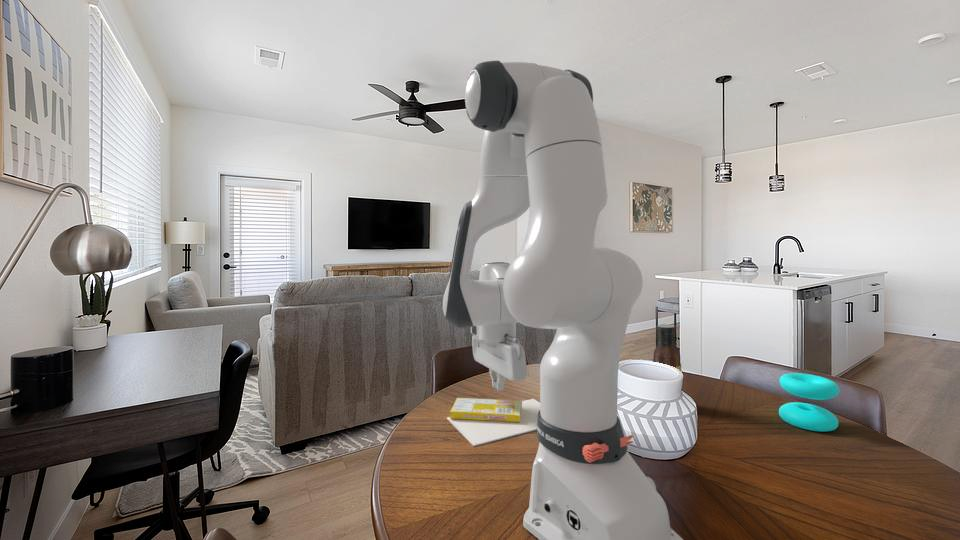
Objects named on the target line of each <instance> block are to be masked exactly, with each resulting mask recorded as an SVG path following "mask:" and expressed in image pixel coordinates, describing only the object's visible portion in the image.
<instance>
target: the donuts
mask: <svg viewBox="0 0 960 540" xmlns="http://www.w3.org/2000/svg"><path fill="white" fill-rule="evenodd" d="M778 382H779V385H780V387H781V388H782V389H783V390H785V392H788V393H790V394H791V395H794V396H797V397H799V398H805V399H810V400H818V401H819V400H820V401H824V400H825V401H826V400H831V399H834V398H835V397H837V396H838V395H839V394H840V387H839V385H838V384H837V383H836V382H835V381H833V380H831V379H829V378H826V377H823V376H819V375H814V374H809V373H799V372H792V373H791V372H790V373H789V372H788V373H785V374H783V375H781V376H780V377H779V381H778ZM778 415H779V417H780V418H781V419H782V420H783V421H784V422H786V423H787V424H790V425H791V426H794V427H796V428H799V429H803V430H807V431H813V432H819V433H820V432H826V433H827V432H832V431H835V430H836V429H837V428H838V427H839V420H838V417H837V416H836V415H835V414H834V413H833V412H831V411H830V410H828V409H826V408H824V407H822V406H819V405H817V404H812V403H805V402H798V401H797V402H796V401H794V402H787V403H784V404H783V405H781V406H780V407H779V409H778Z"/></svg>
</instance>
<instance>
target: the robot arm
mask: <svg viewBox="0 0 960 540" xmlns="http://www.w3.org/2000/svg"><path fill="white" fill-rule="evenodd" d="M467 78H468V79H467V82H466V87H465V90H464V91H465V92H464V102H465V110H466V111H465V112H466V115H467V117H468V119H469V121H470V122H471V124H473V127H476V128H478V129H482V130H484V131H483V135H482V141H481V148H480V156H479V169H478V170H479V171H478V175H479V177H478V184H477V189H476V191H475V193H474V196H473V198H471V200H470V201H468V202H466V203H465V204H463V208H462V210H461V212H460V216H459V220H458V225H457V230H456V235H455V240H454V245H453V252H452V257H451V263H450V269H449V276H448V279H447V284H446V288H445V291H444V293H443V298H442V312H443V315H444V319H445V320H446V321H447V322H449V324H450V325H452V326H454V328H457V329H464V328H465V329H466V328H470V333H471V335H472V337H471V339H472V341H471V344H472V345H471V346H472V355H473V359H474V361H475V362H477V363H479V364H481V365H482V366H485V368H488V372H489V376H490V379H491V386H492V388H494V389H495V390H497V391H498V392H500V391H504V390H505V383H506V380H508V381H509V380H510V381H511V382H518V381H523V380H525V379H526V378H527V375H528V373H527V372H528V371H527V358H526V352H525V351H526V350H525V349H524V347H523V344H522V343H521V342H520V339H519V338H518V337H517V324H521V325H523V326H525V327H528V328H533V329H545V330H556V332H555V335H554V337H553V340H552V342H551V344H550V346H549V347H548V349H547V350H546V352H544V354H543V356H542V359H541V362H540V364H539V365H540V366H539V402H540V410H539V412H538V418H537V430H536V433H537V434H536V435H537V439H538V442H539V444H538V448H537V450H536V451H537V452H536V455H535V458H534V461H533V465H532V469H531V470H532V471H531V480H530V491H529V502H528V503H529V505H528V508H527V510H526V511H525V513H524V515H523V521H522V524H523V525H522V526H523V528H525V530H526V531H528V532H529V533H530V534H532V535H533V536H534V537H535V538H537V540H684V539H683V538H682V536H680V535H679V534H678V533H677V532H676V531H675V530H674V529H673V528H672V527H671V522H670V515H669V511H668V508H667V504H666V502H665V499H663V497H662V495H661V494H660V493H659V492H658V491H657V487H656V483H655V482H654V480H653V478H652V477H649V476H646V475H645V473H644V472H643V470H642V469H641V467H640V466H639V465H638V464H637V462H636V461H635V460H634V458H633V457H632V455H631V454H630V453H629V451H628V445H631V444H633V443H634V441H631V439H633V438H634V436H633V434H631V435H628V436H625V433H624V428H623V427H622V423H621V420H620V418H619V416H618V386H619V385H618V380H619V367H620V366H619V365H620V360H621V359H620V358H621V353H622V349H623V344H624V340H625V337H626V336H625V335H626V333H627V327H628V324H629V319H630V315H631V313H632V309H633V307H634V305H635V303H636V301H637V300H638V298H639V297H640V295H641V293H642V289H643V284H644V283H643V275H642V272H641V269H640V267H639V265H638V264H637V263H636V261H635V260H634V259H633V258H631V257H630V256H629V255H627V254H625V253H622V252H620V251H618V250H615V249H612V248H609V247H595V235H596V229H597V223H598V219H599V216H600V214H601V212H602V211H603V209H605V206H606V204H607V203H608V189H607V180H606V170H605V164H604V163H605V161H604V154H603V153H604V152H603V145H602V137H601V132H600V126H599V121H598V118H597V117H598V116H597V113H596V110H595V105H594V94H593V93H594V92H593V87H592V83H591V82H590V80H589V79H588V78H587V77H586V76H584V74H581V73H579V72H577V71H574V70H571V69H564V70H563V69H561V68H556V67H552V66H547V65H541V64H540V65H539V64H537V63H533V62H525V61H524V62H521V61H507V62H501V61H500V60H489V61H483V62H479V63H477V64H476V65H475V67H474V68H473V69H472V70H471V71H470V72H469V75H468V77H467ZM528 209H529V215H528V222H527V230H526V232H525V233H526V234H525V236H524V237H525V238H524V240H523V244H522V246H521V249H520V251H519V253H518V254H517V256H516V257H515V258H514V259H513V261H511V263H509V262H504V261H502V262H501V261H500V262H499V261H497V262H490V263H489V262H488V263H484V264H483V265H482V266H480V269H479V275H478V276H479V277H478V279H476V280H475V279H471V278H470V274H471V270H472V264H473V259H474V254H475V253H474V252H475V247H476V244H477V242H478V240H479V239H480V238H481V237H482V236H483V235H485V234H486V233H488V232H490V231H491V230H493V229H496V228H498V227H502V226H503V225H507V224H508V223H509V224H510V223H511V222H512V221H514V220H517V219H519V218H520V217H521V216H522V215H524V214H525V213H526V212H527V211H528Z"/></svg>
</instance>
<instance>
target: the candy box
mask: <svg viewBox="0 0 960 540" xmlns="http://www.w3.org/2000/svg"><path fill="white" fill-rule="evenodd" d="M522 401H523V400H514V399H513V400H512V399H495V398H492V399H491V398H472V397H470V398H469V397H456V398H455V401H454V403H453V405H452V407H451V409H450V411H449V417H450V419H470V420H489V421H507V422H520V420H521V410H522Z"/></svg>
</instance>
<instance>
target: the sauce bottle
mask: <svg viewBox="0 0 960 540" xmlns="http://www.w3.org/2000/svg"><path fill="white" fill-rule="evenodd" d="M656 332H657V344H656V347H655V349H654V350H653V361H652V363H653V362H659V363H663V364H667V365H670V366H673V367H675V368H677V369H679V370H680V371H681V372H682V364H681V363H682V362H681V352H680V350H679V349H678V347H677V345H676V339H675V336H676V335H675V333H676V326H675V325H673V324H665V323H663V324H662V323H661V324H658V325H657V326H656Z"/></svg>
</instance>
